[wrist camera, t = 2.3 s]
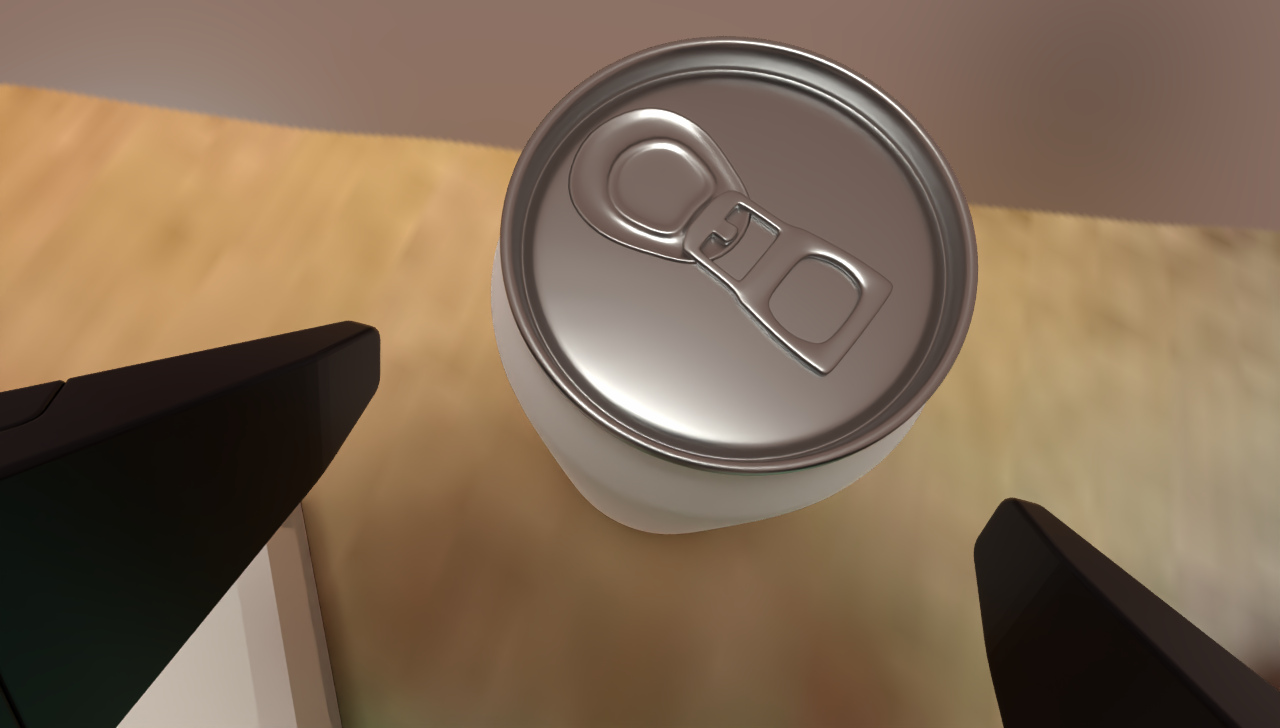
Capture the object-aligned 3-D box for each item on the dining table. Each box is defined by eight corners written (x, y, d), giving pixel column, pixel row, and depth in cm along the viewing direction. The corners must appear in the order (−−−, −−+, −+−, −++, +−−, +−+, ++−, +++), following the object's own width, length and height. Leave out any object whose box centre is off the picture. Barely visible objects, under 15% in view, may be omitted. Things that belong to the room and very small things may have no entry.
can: (649, 279, 20) (692, -74, 9) (816, 408, 19) (1114, 202, 8) (510, 437, 19) (338, 262, 7) (684, 584, 18) (809, 656, 6)
